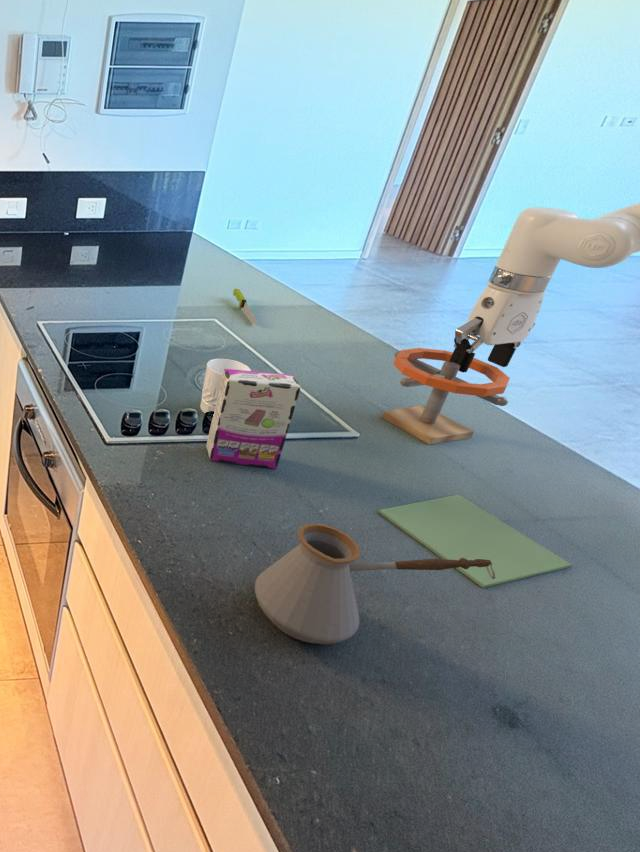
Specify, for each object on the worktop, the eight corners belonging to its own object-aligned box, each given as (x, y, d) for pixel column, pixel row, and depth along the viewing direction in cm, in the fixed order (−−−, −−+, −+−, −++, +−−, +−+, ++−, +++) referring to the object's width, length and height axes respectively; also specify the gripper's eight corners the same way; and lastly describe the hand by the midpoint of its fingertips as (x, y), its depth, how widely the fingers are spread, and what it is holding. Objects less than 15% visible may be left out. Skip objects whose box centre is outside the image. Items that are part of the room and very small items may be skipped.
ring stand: (396, 398, 129) (420, 339, 123) (501, 453, 111) (535, 387, 105) (336, 407, 126) (357, 347, 120) (434, 465, 108) (465, 398, 102)
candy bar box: (269, 454, 111) (294, 373, 104) (277, 470, 107) (303, 387, 100) (203, 445, 114) (223, 366, 106) (208, 461, 109) (229, 379, 102)
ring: (439, 351, 123) (442, 344, 122) (528, 389, 109) (532, 381, 108) (373, 360, 119) (376, 353, 119) (457, 400, 105) (460, 392, 105)
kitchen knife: (257, 331, 164) (260, 321, 162) (252, 331, 164) (255, 321, 163) (236, 296, 183) (238, 287, 181) (231, 296, 183) (234, 287, 181)
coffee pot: (253, 639, 76) (286, 547, 69) (245, 574, 85) (273, 487, 79) (464, 698, 69) (523, 601, 62) (430, 620, 78) (478, 529, 72)
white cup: (226, 400, 128) (237, 357, 124) (247, 420, 121) (259, 375, 117) (190, 402, 128) (199, 359, 124) (208, 422, 121) (219, 377, 117)
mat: (457, 496, 100) (458, 494, 100) (570, 567, 86) (572, 564, 86) (377, 512, 97) (378, 509, 97) (482, 588, 83) (484, 585, 83)
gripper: (503, 291, 103) (460, 380, 111) (579, 283, 107) (533, 370, 114) (458, 276, 109) (421, 362, 117) (532, 270, 113) (491, 353, 121)
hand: (476, 366), depth 116 cm, fingers open, 9 cm apart
